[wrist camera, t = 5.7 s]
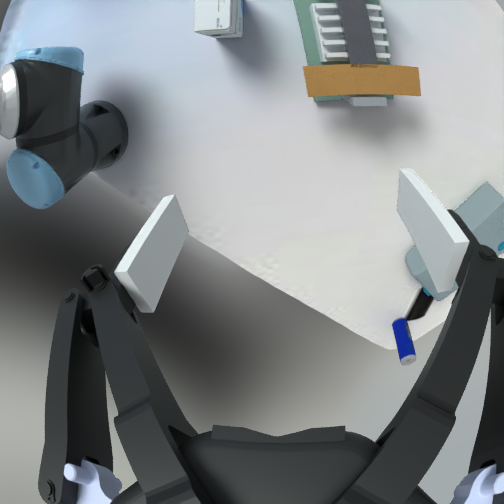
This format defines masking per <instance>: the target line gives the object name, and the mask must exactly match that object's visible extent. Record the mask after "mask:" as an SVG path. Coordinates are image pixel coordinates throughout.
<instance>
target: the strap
mask: <svg viewBox="0 0 504 504" xmlns="http://www.w3.org/2000/svg"><path fill="white" fill-rule="evenodd" d="M335 2H336V6H337V10H338V14H339V18H340V22H341V27H342V31H343V36H344V41H345V46H346V51H347V57H348V62H349V64H335V65H317V66H304V67H303V71H304V76H305V82H306V88H307V93H308V97H316V96H330V95H351V94H390V95H411V96H421V91H420V79H419V70H418V67H409V66H397V65H379V64H378V63H377V56H376V50H375V45H374V39H373V34H372V29H371V25H370V20H369V16H368V12H367V8H366V4H365V0H335Z"/></svg>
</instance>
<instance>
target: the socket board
mask: <svg viewBox="0 0 504 504" xmlns="http://www.w3.org/2000/svg"><path fill="white" fill-rule="evenodd" d="M293 1H294V4H295V8H296V12H297V16H298V21H299V25H300V29H301V34H302V38H303V43H304V48H305V53H306V58H307V63H308V66H317V65H335V64H349V62H348V57H347V51H346V46H345V41H344V36H343V31H342V27H341V22H340V18H339V14H338V10H337V6H336V2H335V0H293ZM365 4H366V8H367V12H368V16H369V20H370V25H371V29H372V34H373V39H374V45H375V50H376V56H377V63H378V64H379V65H390V63H389V58H391V57H390V54H388V48H387V46H389V43H388V41H386V36H385V34H387V32H386V29H384V25H383V22H385V21H384V17H382V15H381V10H382V7H381V6H379V2H378V0H365ZM313 98H314V101H315V102H316V101H329V100H345V101H347V102H348V103H350V104H351V105H352V106H387V99H393V95H390V94H351V95H330V96H316V97H313Z"/></svg>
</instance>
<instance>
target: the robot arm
mask: <svg viewBox="0 0 504 504" xmlns="http://www.w3.org/2000/svg"><path fill="white" fill-rule="evenodd" d="M83 61H84V54H83V52H82V50H81V49H79V48H76V47H45V48H37V49H28V50H23V51H20V52H18V53H17V55H16V57H15V62H12V63H9V64H6V65H4V66H3V68H2V69H1V70H0V135H1V136H3V137H5V138H6V139H9V140H10V139H13V138H15V137H16V146H17V150H14V151H13V152H12V154H11V155H10V156H9V159H8V162H7V174H8V178H9V181H10V183H11V185H12V187H13V189H14V191H15V192H16V193H17V195H18V196H19V197H20V198H21V199H22V200H23V201H24V202H25V203H27V204H28V205H30V206H32V207H34V208H37V209H45V208H48V207H49V206H51V205H52V204H53V203H55V202H56V201H57V200H59V199H61V198H62V197H63V196H64V195H65V193H67V192H68V191H69V190H70V189H71V188H72V187H73V186H74V185H76V184H77V183H78V182H79V181H80V180H81V179H82V178H83V177H84V176H86V175H87V174H88V173H89V172H91V171H95V170H99V169H104V168H106V167H109V166H110V165H112V164H113V163H115V162H116V161H117V160H118V159H119V158H120V157H121V156H122V155H123V153H124V151H125V149H126V146H127V142H128V129H127V125H126V122H125V119H124V117H123V115H122V114H121V112H120V111H119V110H118V109H117V108H116V107H115V106H114V105H112V104H110V103H108V102H105V101H93V102H90V103H88V104H85V105H83V106H82V107H80V98H81V83H82V75H84V71H83ZM397 212H398V214H399V215H400V217H401V219H402V221H403V222H404V224H405V226H406V228H407V230H408V232H409V233H410V235H411V237H412V239H413V241H414V243H415V245H416V247H417V249H418V251H419V253H420V255H421V257H422V259H423V261H424V263H425V265H426V267H427V269H428V272H429V274H430V276H431V278H432V280H433V283H434V285H435V287H436V290H437V292H438V293H439V292H445V291H451V290H452V288H453V285H454V283H455V281H456V283H457V285H458V287H459V288H458V290H457V292H456V294H455V297H454V299H453V301H452V303H451V304H452V306H451V309H450V311H449V314H448V316H447V319H446V321H445V324H444V326H443V328H442V331H441V333H440V335H439V338H438V340H437V342H436V344H435V346H434V348H433V350H432V353H431V354H430V357H429V359H428V360H427V363H426V365H425V366H424V368H423V370H422V372H421V374H420V376H419V378H418V379H417V381H416V383H415V385H414V386H413V388H412V390H411V392H410V393H409V395H408V396H407V398H406V400H405V401H404V403H403V405H402V406H401V408H400V409H399V411H398V412H397V414H396V415H395V417H394V418H393V420H392V421H391V422H390V423H389V425H388V426H387V427H386V429H385V430H384V431H383V432H382V434H381V435H380V436H379V438H378V439H377V440H376V442H373V441H372V440H370V439H369V438H367V437H365V436H362V435H360V434H357V433H353V432H347V431H345V426H337V427H324V428H311V429H307V430H303V431H300V432H296V433H292V434H288V435H283V436H279V437H276V436H271V435H267V434H263V433H260V432H257V431H253V430H250V429H247V428H243V427H230V426H220V425H213V429H212V431H209V432H205V433H202V434H198V433H197V432H196V431H195V429H194V428H193V427H192V426H191V425H190V424H189V422H188V421H187V420H186V418H185V416H184V415H183V413H182V411H181V409H180V407H179V406H178V404H177V402H176V400H175V398H174V396H173V394H172V393H171V391H170V389H169V387H168V385H167V383H166V381H165V379H164V377H163V375H162V373H161V370H160V368H159V366H158V364H157V362H156V360H155V358H154V355H153V353H152V351H151V349H150V347H149V344H148V342H147V340H146V337H145V335H144V333H143V330H142V328H141V325H140V323H139V320H138V318H137V315H136V314H135V312H134V311H133V309H134V307H135V305H136V306H137V307H138V308H139V310H140V311H141V312H154V311H155V308H156V305H157V303H158V301H159V298H160V296H161V294H162V291H163V289H164V286H165V284H166V282H167V279H168V277H169V275H170V273H171V270H172V268H173V266H174V263H175V261H176V259H177V257H178V255H179V252H180V250H181V248H182V246H183V244H184V241H185V239H186V237H187V235H188V233H189V229H188V226H187V224H186V221H185V219H184V216H183V214H182V211H181V209H180V206H179V203H178V201H177V198H176V196H175V195H169V196H165V197H164V198H163V199H162V200H161V202H160V203H159V204H158V206H157V207H156V209H155V210H154V211H153V213H152V215H151V216H150V217H149V219H148V220H147V222H146V223H145V224H144V226H143V227H142V229H141V230H140V232H139V233H138V235H137V236H136V238H135V239H134V241H133V242H132V243H130V244H129V245H128V246H127V247H126V248H125V250H124V251H123V253H122V254H121V256H120V257H119V259H118V261H117V262H116V264H115V265H114V267H113V269H112V270H111V272H110V274H109V275H108V274H107V273H106V271H105V270H104V268H103V266H102V265H100V264H96V265H93V266H91V267H90V268H88V269H87V270H86V271H85V272H84V273H83V275H82V277H81V282H82V283H83V285H84V286H85V287H86V289H87V290H88V291H89V292H87V293H84V294H81V292H80V291H79V290H78V289H77V288H73V289H70V290H68V291H67V292H66V293H65V294H64V296H63V297H62V299H61V302H60V306H59V310H58V315H57V319H56V325H55V330H54V335H53V341H52V347H51V353H50V360H49V368H48V376H47V388H46V402H45V444H44V449H43V455H42V461H41V466H40V473H39V481H38V489H39V492H40V495H41V497H42V499H43V500H44V501H45V502H46V503H47V504H437V503H436V502H435V501H434V500H432V499H431V498H430V497H429V496H428V495H427V494H426V493H425V492H424V491H423V490H422V489H421V488H420V487H419V486H418V484H419V482H420V481H421V479H422V478H423V476H424V475H425V474H426V472H427V471H428V469H429V468H430V466H431V465H432V463H433V461H434V460H435V458H436V457H437V455H438V453H439V452H440V450H441V448H442V446H443V445H444V443H445V441H446V439H447V437H448V436H449V434H450V432H451V430H452V428H453V426H454V424H455V420H456V416H455V411H456V408H457V406H458V404H459V401H460V399H461V397H462V395H463V392H464V390H465V388H466V385H467V383H468V380H469V378H470V375H471V373H472V370H473V367H474V364H475V361H476V358H477V355H478V352H479V349H480V346H481V343H482V339H483V336H484V332H485V329H486V325H487V321H488V317H489V313H490V308H491V346H490V361H489V372H488V381H487V388H486V394H485V400H484V406H483V411H482V416H481V421H480V425H479V429H478V433H477V437H476V441H475V445H474V449H473V453H472V456H471V461H470V466H469V471H468V475H467V476H466V477H464V479H463V480H462V481H461V482H460V484H459V485H458V486H457V487H456V489H455V491H454V498H453V500H452V501H451V503H450V504H504V259H503V258H498V256H497V254H496V252H495V251H494V250H493V249H492V248H490V247H488V246H486V245H480V243H479V242H478V240H477V239H476V237H475V236H474V235H473V233H472V232H471V230H470V229H469V228H468V226H467V225H466V224H465V223H464V221H463V220H462V218H461V217H460V216H459V215H458V214H457V213H455V212H454V211H453V210H446V209H445V207H444V206H443V205H442V203H441V202H440V201H439V200H438V199H437V197H436V196H435V195H434V194H433V192H432V191H431V190H430V189H429V188H428V187H427V185H426V184H425V183H424V182H423V181H422V180H421V179H420V178H419V176H418V175H417V174H416V173H415V172H414V171H413V170H412V169H399V187H398V200H397ZM81 329H82V330H83V332H82V331H81ZM105 370H106V374H107V378H108V381H109V384H110V388H111V391H112V394H113V397H114V400H115V403H116V406H117V409H118V413H119V414H118V416H116V417H114V424H115V428H116V431H117V433H118V436H119V438H120V441H121V444H122V446H123V449H124V451H125V453H126V456H127V458H128V461H129V463H130V465H131V467H132V470H133V472H134V474H135V476H136V478H137V480H138V481H137V482H135V483H134V484H133V485H131V486H130V487H129V488H127V489H126V490H125V491H123V492H122V493H121V494H119V491H120V490H121V488H122V484H121V481H120V480H119V479H118V478H116V477H115V476H114V474H113V456H112V446H111V439H110V431H109V422H108V412H107V398H106V379H105Z"/></svg>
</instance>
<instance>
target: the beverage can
mask: <svg viewBox="0 0 504 504" xmlns="http://www.w3.org/2000/svg"><path fill="white" fill-rule="evenodd" d="M392 326H393V330H394V335H395V339H396V344H397V348H398V353H399V358H400V362H401V364H402V365H409V364H411V363H413V362H415V361H416V354H415V349H414V345H413V341H412V337H411V334H410V330H409V326H408V323H407V320H406V319H405V318H398V319H396V320H395V321H394V322H393V324H392Z"/></svg>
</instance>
